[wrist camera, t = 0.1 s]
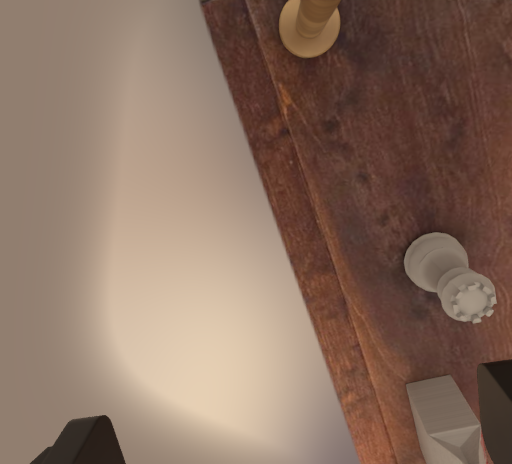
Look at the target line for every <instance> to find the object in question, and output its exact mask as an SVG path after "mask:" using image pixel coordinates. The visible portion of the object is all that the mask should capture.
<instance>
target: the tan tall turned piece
mask: <svg viewBox="0 0 512 464" xmlns="http://www.w3.org/2000/svg"><path fill="white" fill-rule="evenodd" d="M340 2H341V0H288V2H287V3H286V4H285V6H284V7H283V9H282V12H281V14H280V18H279V33H280V37H281V40H282V42H283V44H284V46H285V47H286V48H287V49H288V50H289V51H290V52H291V53H292V54H294V55H296V56H298V57H302V58H314V57H317V56H319V55H321V54H323V53H325V52H326V51H327V50H328V49H329V48H330V47H331V46H332V45H333V44H334V42H335V41H336V39H337V37H338V34H339V30H340V15H339V11H338V8H337V6H338V5H339V3H340Z"/></svg>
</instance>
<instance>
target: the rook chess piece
mask: <svg viewBox="0 0 512 464" xmlns="http://www.w3.org/2000/svg"><path fill="white" fill-rule="evenodd" d="M404 265H405V271H406V273H407V275H408V276H409V277H410V279H411V280H412V281H413V282H414V283H415V284H416V285H417V286H419V287H421V288H422V289H424V290H426V291H431V292H437V293H438V297H439V298H440V299H441V302H442V308H443V309H444V310H445V312H446V313H447V315H448V316H450V317H452V318H454V319H455V320H460V321H464V322H466V321H472V323H478V322H482V321H481V319H480V317H482V316H483V315H485V314H486V315H487V316H488V317H490V316H491V314H492V313H493V312H494V310H493V309H492V308H491V307H492V306H493V304H497V303H496V294H495V287H494V286H493V284H492V283H491V281H490V280H489V279H488V278H486V277H485V276H483V275H481V274H477V273H476V272H474V271H473V270H471V269H469V268H468V266H469V264H468V257H467V253H466V251H465V250H464V248H463V247H462V245H461V244H460V243H459V242H458V241H457V239H455V238H453V237H452V236H450V235H448V234H445V233H438V232H434V233H430V234H425V235H423V236H421V237H420V238H418V239H417V240H415V241H413V243H412V244H411V245H410V247H409V248H408V250H407V251H406V255H405V259H404Z"/></svg>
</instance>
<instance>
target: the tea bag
mask: <svg viewBox="0 0 512 464" xmlns="http://www.w3.org/2000/svg"><path fill="white" fill-rule="evenodd" d="M406 388H407V392H408V396H409V401H410V405H411V409H412V414H413V418H414V422H415V427H416V431H417V435H418V440H419V444H420V448H421V451H422V453H423V456H424V458H425V461H426V463H427V464H488V462H487V457H486V451H485V446H484V440H483V435H482V430H481V424H480V423H479V421H478V419H477V418H476V416H475V414H474V413H473V411H472V409H471V408H470V406H469V405H468V403H467V401H466V400H465V398H464V396H463V395H462V393H461V391H460V390H459V388H458V386H457V385H456V383H455V381H454V380H453V378H452V377H451V375H446V376H441V377H437V378H432V379H427V380H422V381H418V382H413V383H408V384H406Z"/></svg>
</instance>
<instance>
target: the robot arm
mask: <svg viewBox="0 0 512 464" xmlns="http://www.w3.org/2000/svg"><path fill="white" fill-rule="evenodd" d="M477 379H478V392H479V406H480V419H481V429H482V434H483V438H484V442H485V445H486V448H487V450H488V453H489V455H490V457H491V459H492V461H493V463H494V464H512V359H511V360H503V361H496V362H489V363H482V364H479V365H478V368H477ZM30 464H126V463H125V460H124V457H123V454H122V451H121V449H120V446H119V443H118V440H117V437H116V434H115V431H114V428H113V426H112V423H111V420H110V419H109V418H108V417H107V416H106V415H102V416H94V417H88V418H81V419H73V420H71V421H69V422H68V424H67V425H66V426H65V428H64V429H63V431H62V432H61V434H60V436H59V437H58V439H57V440H56V442H55V444H54V445H53V446H52V447H48V448H46V449H45V450H44V451H43V452H42V453H41V454H40V455H39V456H38V457H37V458H35V459H34V460H33V461H32V462H31V463H30Z"/></svg>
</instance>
